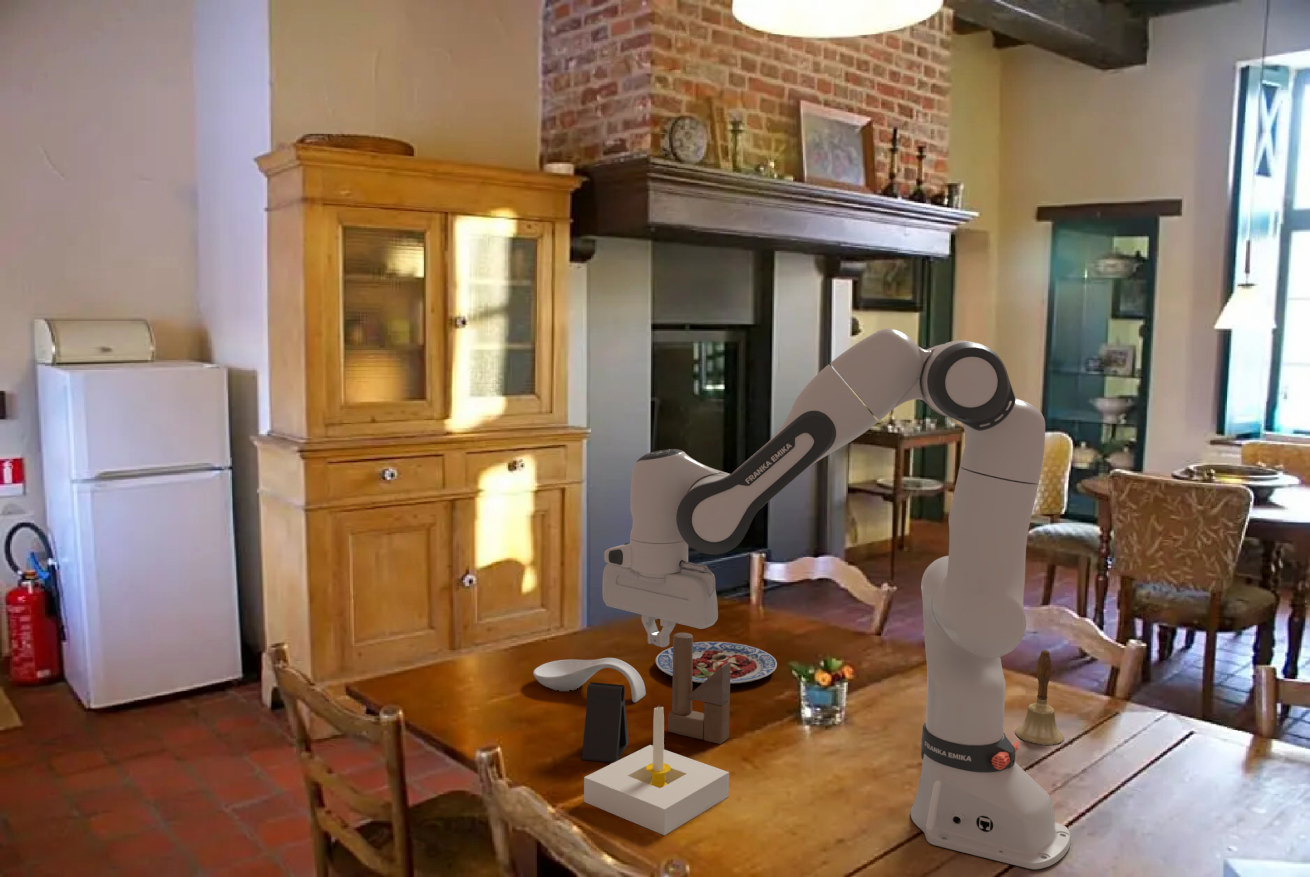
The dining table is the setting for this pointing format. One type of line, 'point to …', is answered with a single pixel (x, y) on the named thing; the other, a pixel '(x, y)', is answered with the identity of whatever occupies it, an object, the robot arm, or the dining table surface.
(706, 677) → the ceramic plate
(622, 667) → the spoon rest
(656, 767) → the candle
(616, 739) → the phone stand
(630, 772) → the hole board
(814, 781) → the dining table surface
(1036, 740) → the hand bell
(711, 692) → the wooden block
